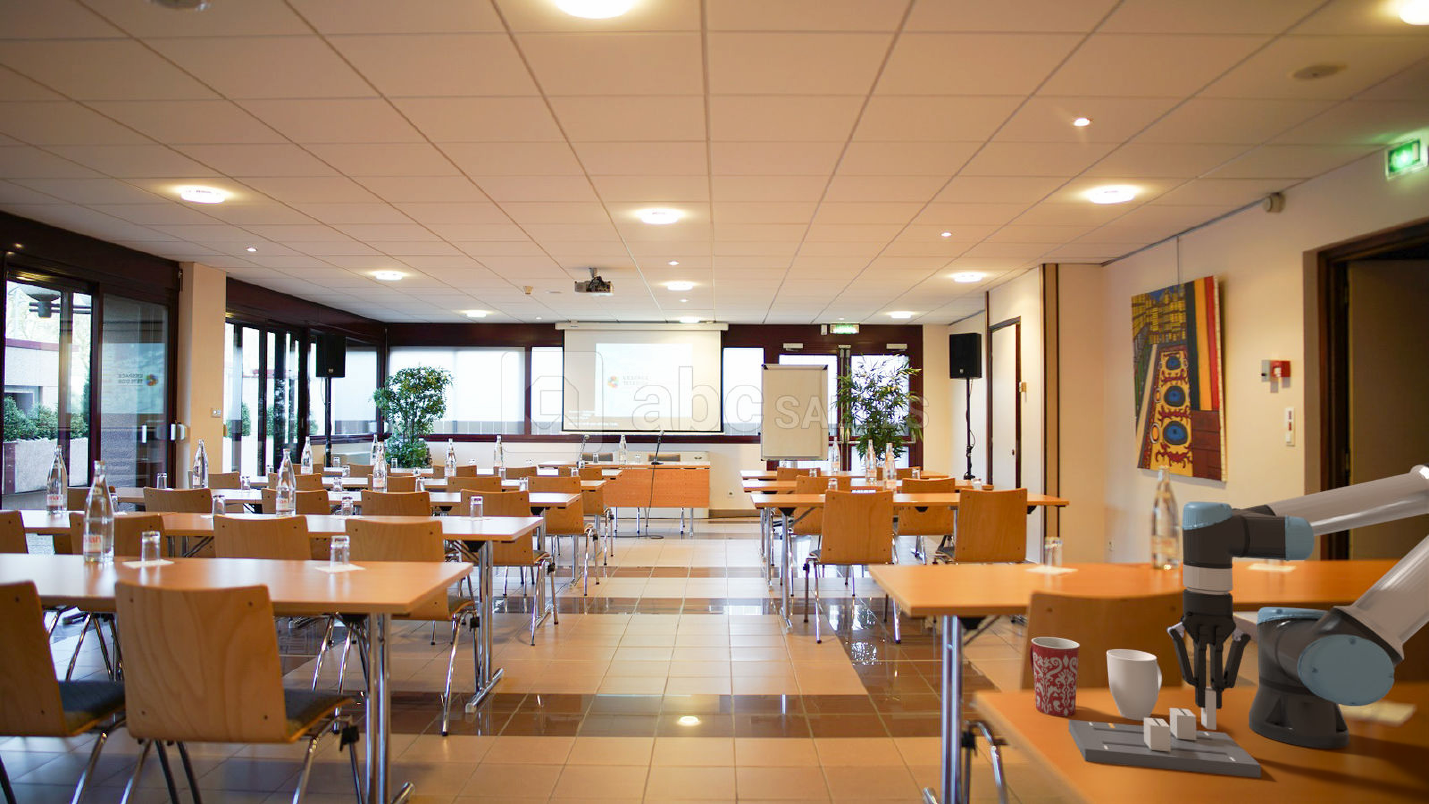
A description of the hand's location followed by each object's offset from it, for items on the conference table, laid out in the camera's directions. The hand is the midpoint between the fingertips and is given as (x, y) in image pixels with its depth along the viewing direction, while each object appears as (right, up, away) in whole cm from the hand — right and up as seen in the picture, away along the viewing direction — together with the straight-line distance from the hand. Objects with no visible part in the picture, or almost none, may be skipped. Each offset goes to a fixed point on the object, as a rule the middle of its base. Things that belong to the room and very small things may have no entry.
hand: (1208, 726), depth 142 cm
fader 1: (-11, -2, -5) cm, 12 cm away
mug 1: (-18, -5, +22) cm, 29 cm away
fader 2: (-4, -2, +1) cm, 4 cm away
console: (-10, -4, -1) cm, 11 cm away
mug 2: (-3, -5, +18) cm, 19 cm away
